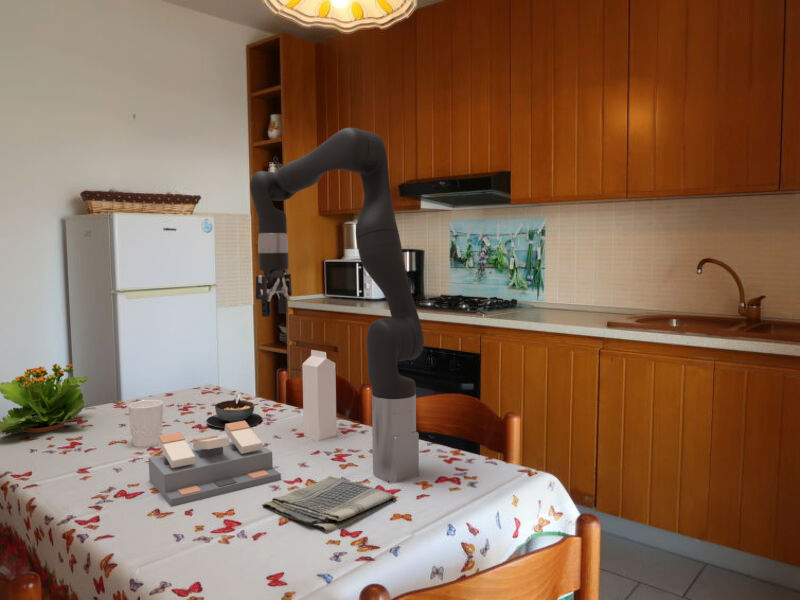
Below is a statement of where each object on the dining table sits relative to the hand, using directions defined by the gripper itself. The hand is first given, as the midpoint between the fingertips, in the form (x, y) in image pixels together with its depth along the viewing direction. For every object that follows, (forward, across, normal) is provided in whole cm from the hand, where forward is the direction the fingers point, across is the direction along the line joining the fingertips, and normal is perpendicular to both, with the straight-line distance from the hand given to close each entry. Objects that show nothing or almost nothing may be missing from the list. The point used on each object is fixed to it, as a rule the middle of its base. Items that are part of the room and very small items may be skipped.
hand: (275, 314), depth 157 cm
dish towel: (+32, -38, -31) cm, 59 cm away
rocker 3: (+24, -27, -6) cm, 36 cm away
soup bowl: (+31, +6, +16) cm, 36 cm away
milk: (+31, +1, -12) cm, 33 cm away
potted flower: (+31, -12, +64) cm, 72 cm away
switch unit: (+31, -32, -2) cm, 45 cm away
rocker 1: (+24, -38, +2) cm, 45 cm away
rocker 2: (+24, -32, -2) cm, 40 cm away
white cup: (+31, -16, +27) cm, 45 cm away
